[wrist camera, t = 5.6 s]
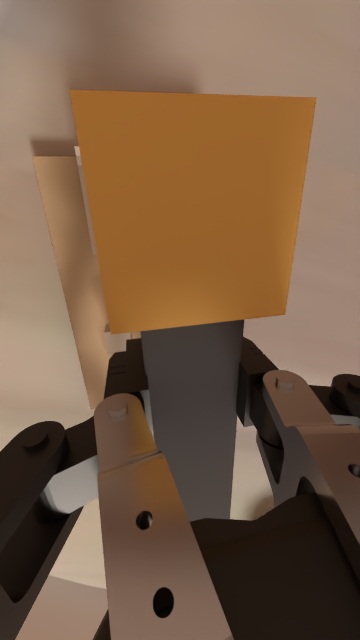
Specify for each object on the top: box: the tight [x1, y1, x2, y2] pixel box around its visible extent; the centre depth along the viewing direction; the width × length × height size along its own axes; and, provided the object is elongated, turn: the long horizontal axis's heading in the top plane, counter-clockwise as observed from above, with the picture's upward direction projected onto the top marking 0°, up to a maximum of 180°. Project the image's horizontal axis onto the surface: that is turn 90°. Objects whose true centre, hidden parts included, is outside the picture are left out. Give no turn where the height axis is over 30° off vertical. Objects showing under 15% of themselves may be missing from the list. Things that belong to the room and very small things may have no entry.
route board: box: [32, 146, 141, 409], centre depth 22 cm, size 16×23×4 cm
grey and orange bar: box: [69, 90, 316, 522], centre depth 10 cm, size 18×5×5 cm, turn 2°
